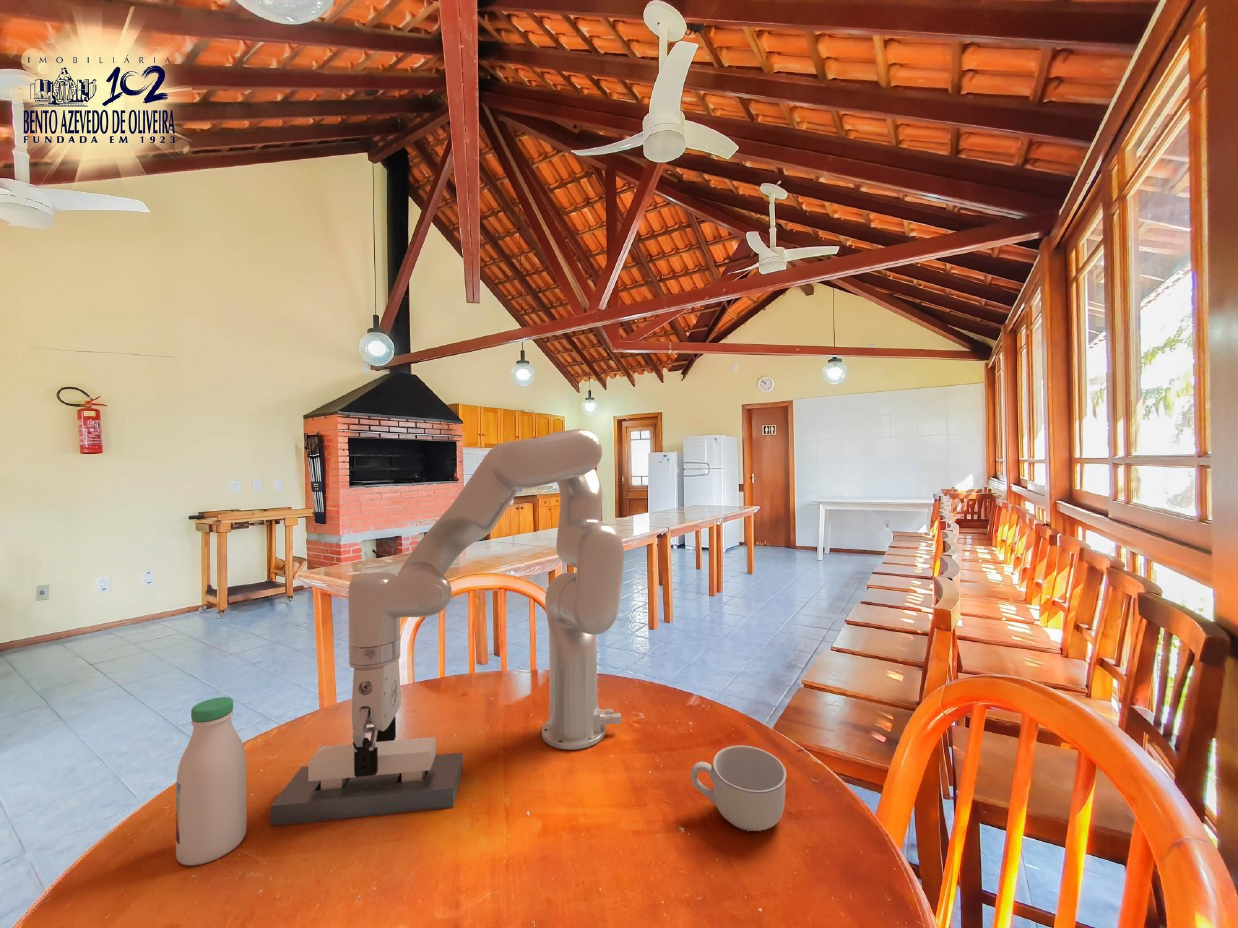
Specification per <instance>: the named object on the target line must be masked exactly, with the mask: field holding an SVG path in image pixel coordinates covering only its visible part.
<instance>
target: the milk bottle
mask: <svg viewBox="0 0 1238 928" xmlns="http://www.w3.org/2000/svg"><path fill="white" fill-rule="evenodd" d="M190 711H191V712H190V713H191V714H190V718H191V722H190V724H191V725H192V726H193V727H192V728H193V729H192V730H193V731H192V734H191V737H190V739H189V741H188V744H187V746H186V748H185V750H184V752H183V754H182V756H181V758H180V761H179V764H178V767H177V768H178V769H177V773H176V788H175V789H176V790H175V793H176V795H175V858H176V860H177V861H178V863H180V864H182V865H184V866H189V867H190V866H198V865H203V864H207V863H209V862H212V861H215V860H218V859H220V858H222V857H223V856H226V855H228V854H229V853H230V852H232V851H233V850H234V849H236V848H237V847H238V846H239V845H240V844H241V843H242V841H243V840H244V837H245V836H246V834H247V823H248V822H247V820H248V819H247V817H248V816H247V810H248V809H247V806H248V805H247V803H248V802H247V796H248V795H247V793H248V792H247V783H248V782H247V756H246V749H245V745H244V743H243V741H242V739H241V737H240V736H239V734H238V733H237V732H236V730H235V727H234V725H233V723H232V716H233V715H234V700H233V698H231V697H229V696H221V697H213V698H210V699H206V700H203V701H201V702H199V703H197V704H195V705H194V706H193V707H192V708H191V710H190Z"/></svg>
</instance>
